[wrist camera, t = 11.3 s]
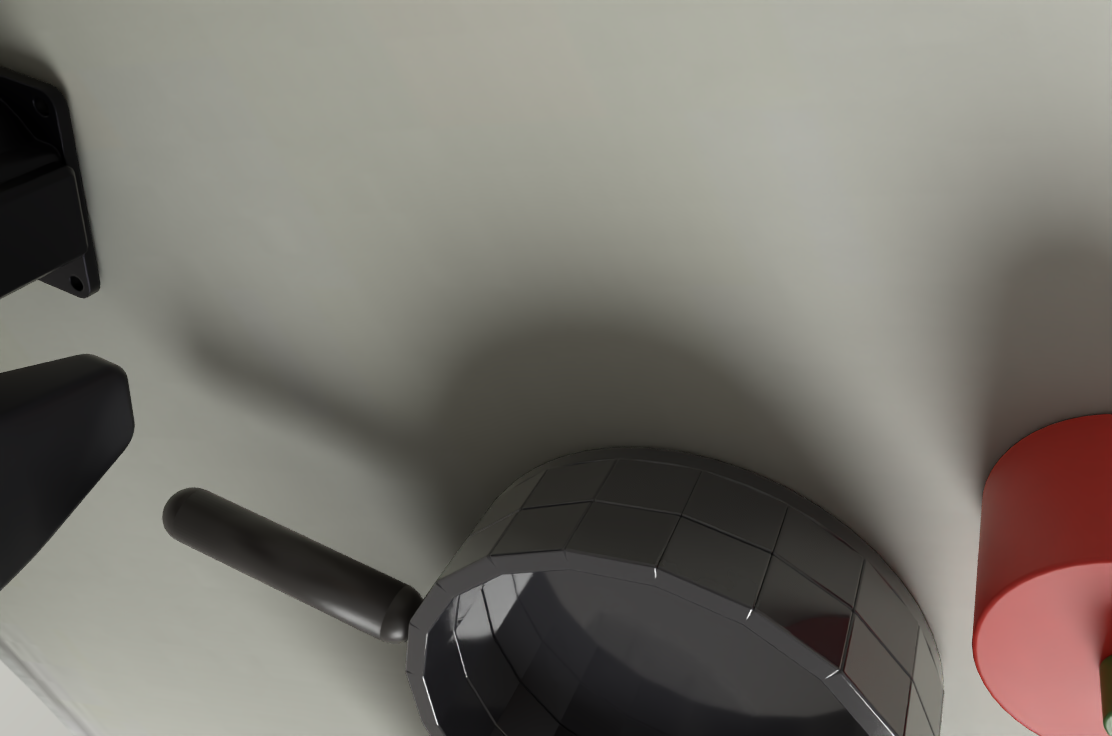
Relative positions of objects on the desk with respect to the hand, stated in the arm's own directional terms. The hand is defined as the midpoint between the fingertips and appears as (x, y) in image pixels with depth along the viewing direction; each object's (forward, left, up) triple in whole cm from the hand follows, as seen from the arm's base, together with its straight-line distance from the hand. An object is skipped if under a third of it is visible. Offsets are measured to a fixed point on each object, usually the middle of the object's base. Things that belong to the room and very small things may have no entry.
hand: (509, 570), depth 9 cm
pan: (+2, -14, -12) cm, 18 cm away
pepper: (+9, -5, -12) cm, 15 cm away
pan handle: (-9, -14, -9) cm, 19 cm away
